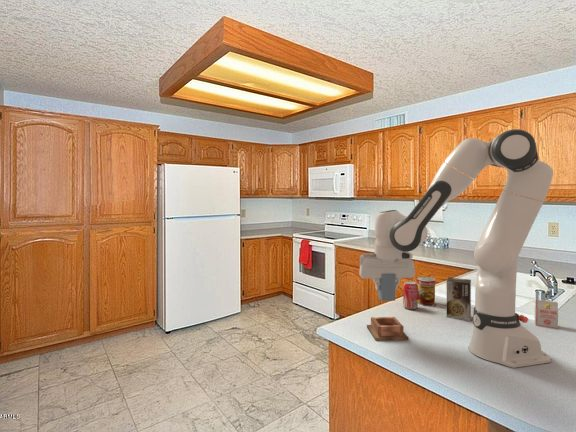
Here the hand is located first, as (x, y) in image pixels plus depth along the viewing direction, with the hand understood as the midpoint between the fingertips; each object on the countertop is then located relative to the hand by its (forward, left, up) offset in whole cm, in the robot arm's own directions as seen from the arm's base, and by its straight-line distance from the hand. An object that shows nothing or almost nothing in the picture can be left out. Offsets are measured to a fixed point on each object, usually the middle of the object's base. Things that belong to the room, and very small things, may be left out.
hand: (386, 289), depth 122 cm
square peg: (0, 0, -4) cm, 4 cm away
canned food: (-30, -33, -17) cm, 48 cm away
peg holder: (0, 0, -17) cm, 17 cm away
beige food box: (-65, -4, -17) cm, 67 cm away
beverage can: (-20, -27, -17) cm, 38 cm away
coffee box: (-36, -15, -17) cm, 43 cm away
